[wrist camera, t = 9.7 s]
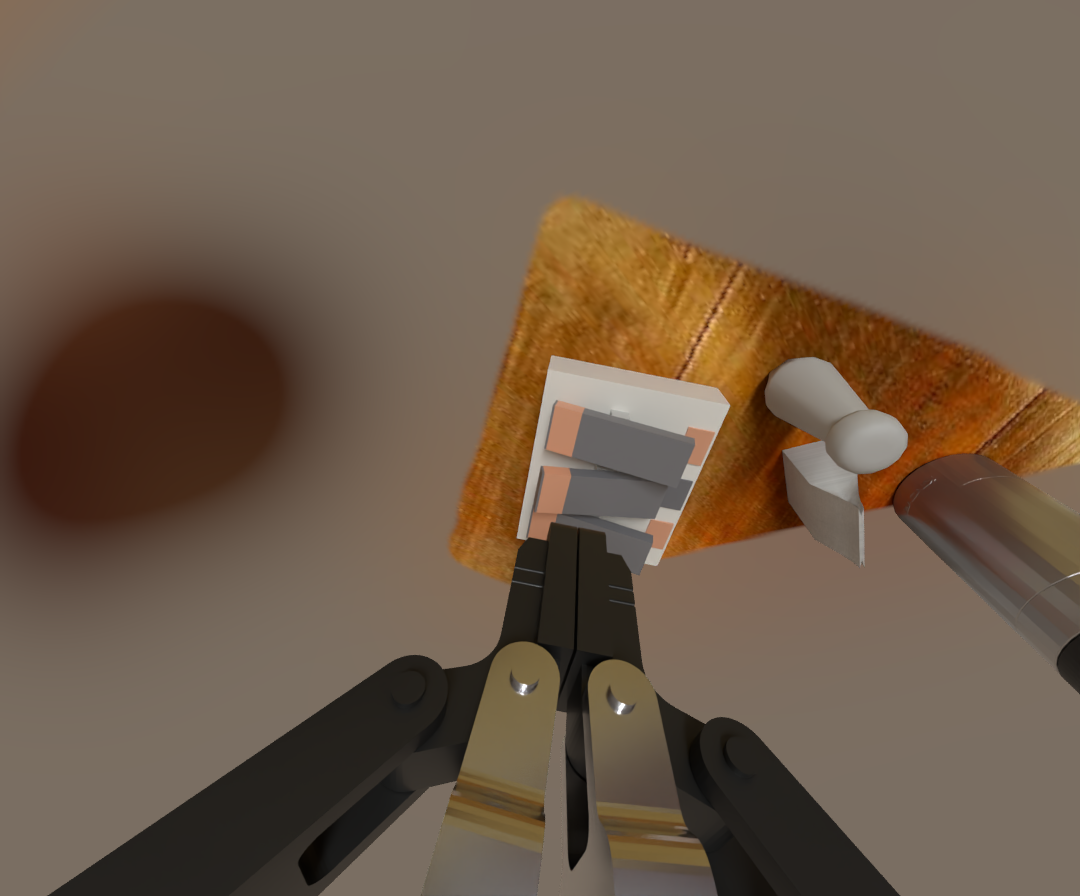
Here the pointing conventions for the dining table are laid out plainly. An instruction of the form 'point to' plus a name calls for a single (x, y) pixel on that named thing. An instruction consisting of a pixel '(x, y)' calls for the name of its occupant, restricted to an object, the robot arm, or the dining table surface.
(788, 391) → the salt shaker
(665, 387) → the switch box
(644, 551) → the switch
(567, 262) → the dining table surface
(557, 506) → the switch
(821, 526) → the white gabled box
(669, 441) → the switch
